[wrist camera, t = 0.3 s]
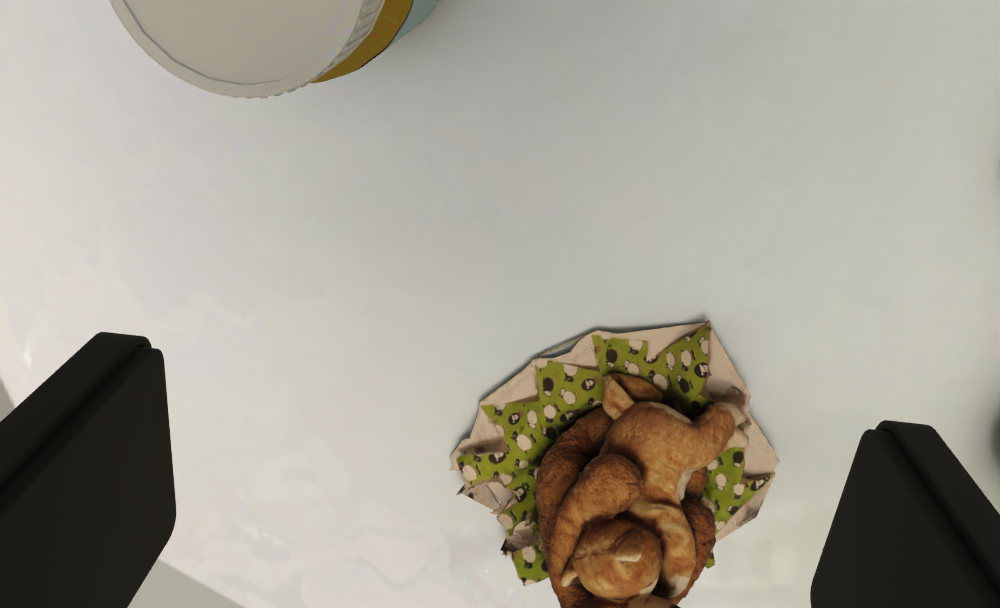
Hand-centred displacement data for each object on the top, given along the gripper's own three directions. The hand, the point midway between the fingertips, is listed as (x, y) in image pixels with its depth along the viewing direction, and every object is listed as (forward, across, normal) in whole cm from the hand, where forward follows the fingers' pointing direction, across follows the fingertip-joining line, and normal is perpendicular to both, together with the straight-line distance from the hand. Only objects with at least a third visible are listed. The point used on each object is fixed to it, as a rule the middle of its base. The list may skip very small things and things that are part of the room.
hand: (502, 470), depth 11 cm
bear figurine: (+25, -6, +17) cm, 31 cm away
